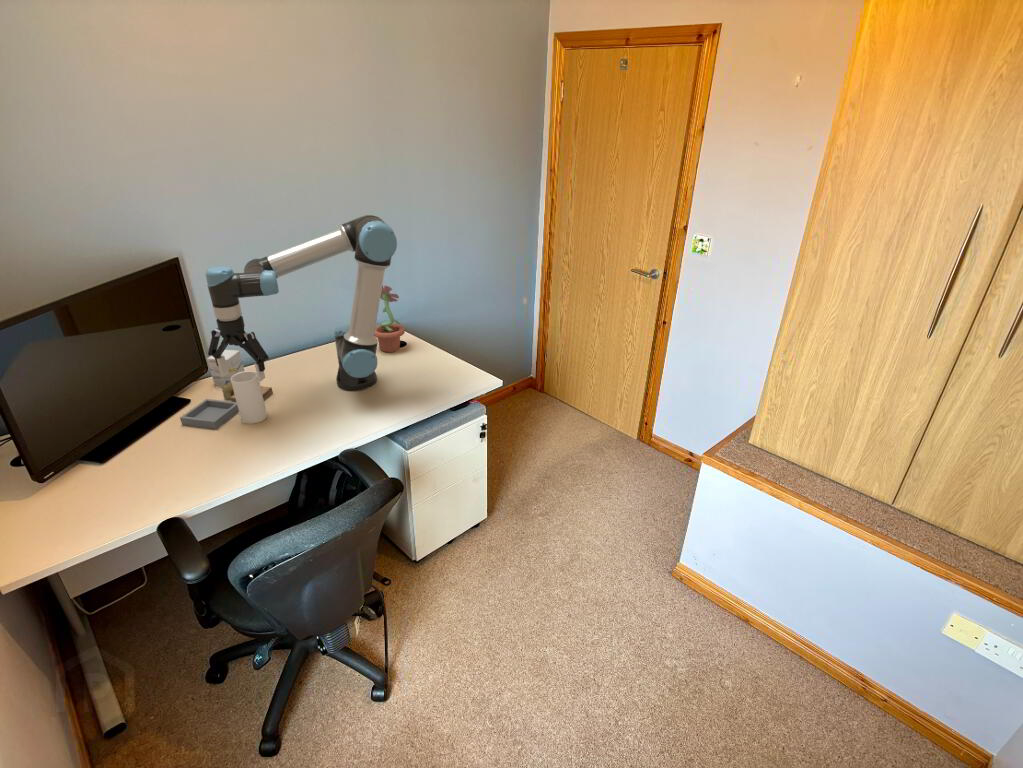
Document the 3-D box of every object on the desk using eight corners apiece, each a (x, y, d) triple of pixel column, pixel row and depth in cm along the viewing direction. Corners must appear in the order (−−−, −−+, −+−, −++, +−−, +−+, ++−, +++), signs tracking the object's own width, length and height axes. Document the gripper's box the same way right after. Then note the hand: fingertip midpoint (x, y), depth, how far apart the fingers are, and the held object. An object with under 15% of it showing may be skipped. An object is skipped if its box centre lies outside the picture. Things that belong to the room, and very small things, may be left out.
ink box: (246, 376, 213) (240, 350, 207) (235, 387, 206) (227, 359, 200) (226, 375, 214) (219, 348, 208) (213, 385, 206) (206, 358, 201)
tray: (241, 410, 191) (239, 402, 189) (216, 429, 179) (214, 422, 178) (208, 406, 193) (206, 398, 191) (182, 425, 182) (179, 417, 180)
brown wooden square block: (273, 394, 202) (271, 387, 200) (257, 407, 193) (255, 400, 192) (249, 391, 203) (247, 384, 202) (232, 404, 195) (230, 397, 193)
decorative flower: (414, 346, 241) (409, 281, 227) (396, 358, 230) (389, 290, 216) (386, 340, 246) (380, 276, 232) (367, 351, 235) (359, 285, 221)
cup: (272, 413, 189) (263, 373, 181) (255, 425, 182) (244, 384, 174) (253, 409, 191) (243, 369, 183) (235, 421, 184) (224, 379, 177)
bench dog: (242, 392, 202) (239, 380, 199) (232, 400, 197) (228, 388, 194) (235, 391, 202) (232, 379, 200) (224, 399, 197) (221, 387, 195)
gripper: (272, 316, 170) (283, 376, 180) (202, 309, 174) (217, 368, 184) (258, 325, 164) (270, 386, 174) (185, 317, 168) (202, 378, 178)
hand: (243, 377), depth 179 cm, fingers open, 13 cm apart
